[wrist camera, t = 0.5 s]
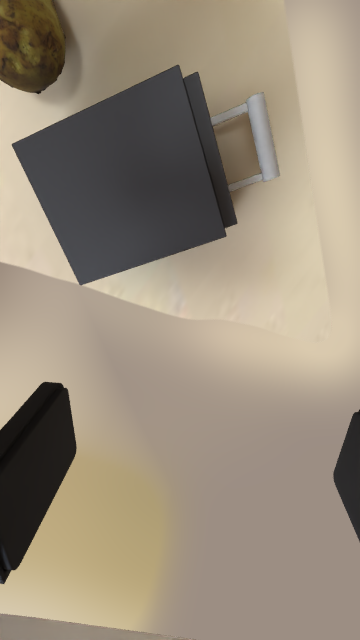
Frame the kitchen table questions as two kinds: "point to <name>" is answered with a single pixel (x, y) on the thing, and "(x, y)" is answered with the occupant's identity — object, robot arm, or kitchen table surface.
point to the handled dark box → (210, 149)
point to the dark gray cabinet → (125, 179)
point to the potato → (30, 44)
